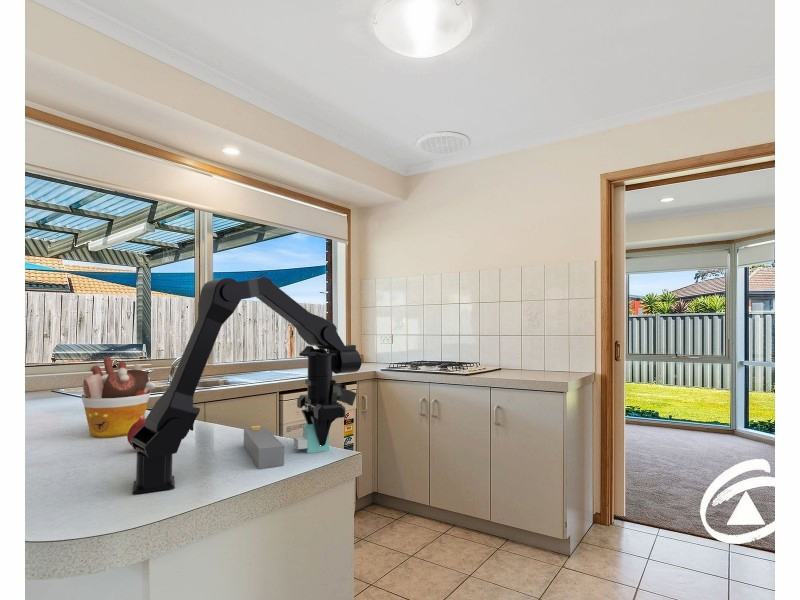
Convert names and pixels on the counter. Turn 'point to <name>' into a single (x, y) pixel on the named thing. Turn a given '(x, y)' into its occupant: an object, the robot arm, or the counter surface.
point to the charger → (310, 440)
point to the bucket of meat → (115, 399)
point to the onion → (135, 428)
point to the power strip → (263, 447)
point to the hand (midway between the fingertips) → (319, 443)
